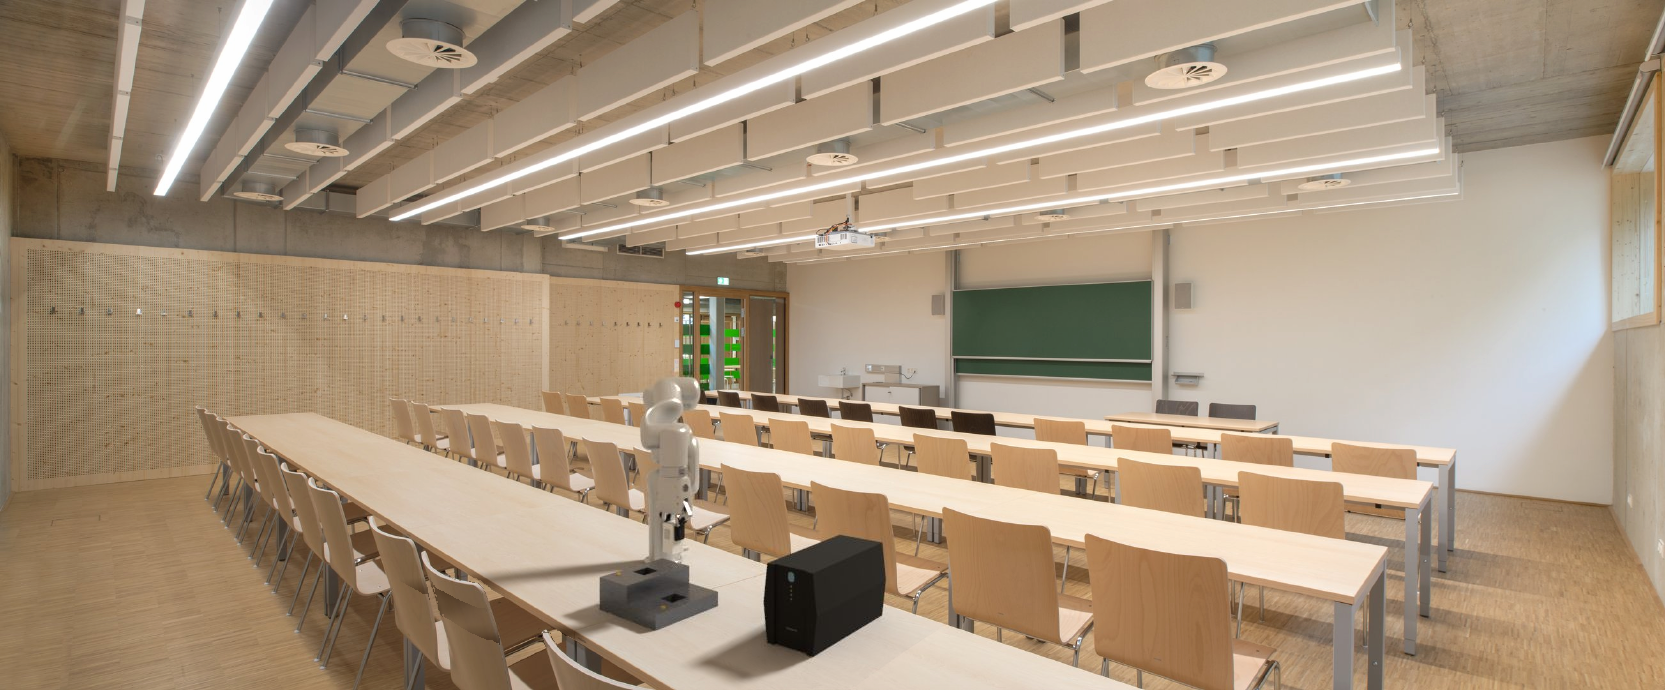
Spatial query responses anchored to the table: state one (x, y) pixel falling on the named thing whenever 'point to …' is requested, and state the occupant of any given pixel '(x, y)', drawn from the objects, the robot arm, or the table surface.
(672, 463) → the robot arm
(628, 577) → the panel
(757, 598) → the table surface
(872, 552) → the uninterruptible power supply
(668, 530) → the plug
